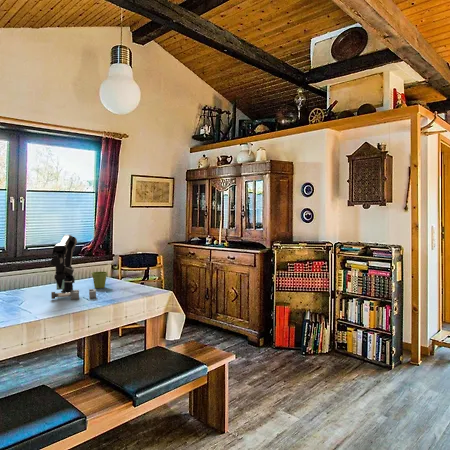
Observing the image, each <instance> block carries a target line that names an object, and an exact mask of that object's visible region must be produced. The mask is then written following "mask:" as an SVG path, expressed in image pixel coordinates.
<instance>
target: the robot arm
mask: <svg viewBox="0 0 450 450" xmlns="http://www.w3.org/2000/svg"><path fill="white" fill-rule="evenodd" d="M77 242H78V239H77V238H76V237H75V236H73V235H72V234H64V235H63V236H62V239H61V240H60V242H59V243H56V244H55V245H54V246H53V249H52V253H51V256H52V258H51V260H50V263H51V265H52V266H53V267H55V275H54V280H55V282H56V285H57V284H58V286H59V288H61V286H62V281H63V280H64V289H61V290H60V293H67V292H71V290H74V285H73V284H75V277H74V276H75V275H74V271H75V269H74V268H73V266H72V264H73V263H72V262H73V252H74V249H76V246H77V244H78V243H77Z"/></svg>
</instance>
